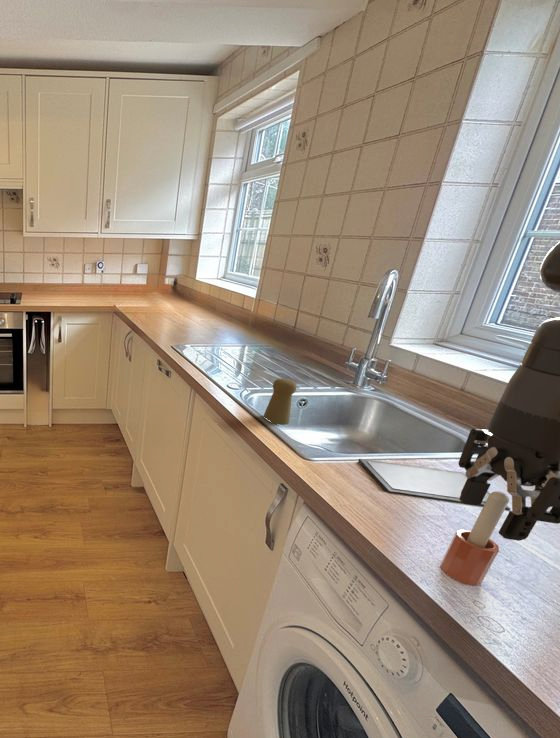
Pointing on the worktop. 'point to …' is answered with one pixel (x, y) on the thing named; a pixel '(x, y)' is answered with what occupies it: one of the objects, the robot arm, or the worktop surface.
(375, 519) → the worktop surface
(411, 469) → the tablet
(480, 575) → the pen cup
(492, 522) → the beige wooden rod
